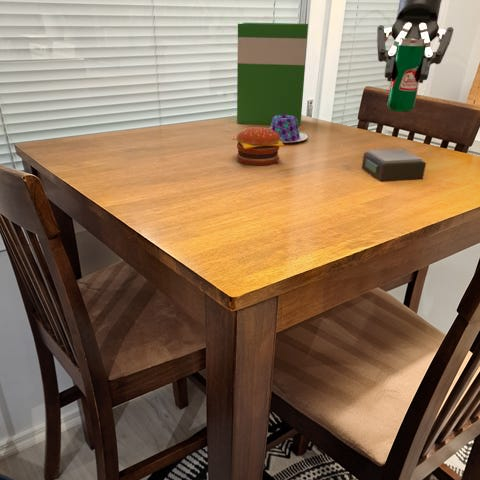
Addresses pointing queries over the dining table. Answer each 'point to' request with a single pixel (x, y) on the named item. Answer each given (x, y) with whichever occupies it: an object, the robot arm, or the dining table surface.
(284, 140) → the pudding
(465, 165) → the dining table surface
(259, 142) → the hamburger
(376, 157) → the scale
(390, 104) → the soda can
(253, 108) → the hardback book
